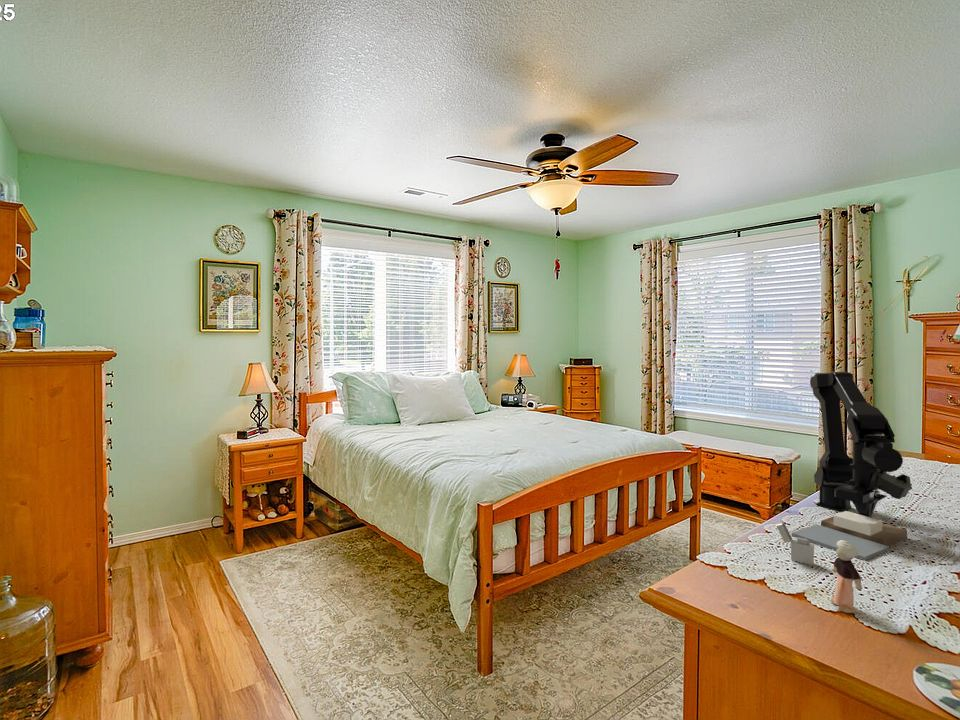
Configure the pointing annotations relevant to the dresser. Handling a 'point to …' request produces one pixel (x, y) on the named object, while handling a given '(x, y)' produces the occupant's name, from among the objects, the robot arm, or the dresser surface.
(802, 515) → the dresser surface
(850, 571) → the grandmother figurine
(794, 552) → the lighter
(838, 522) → the tile
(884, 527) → the board
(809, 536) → the mat
